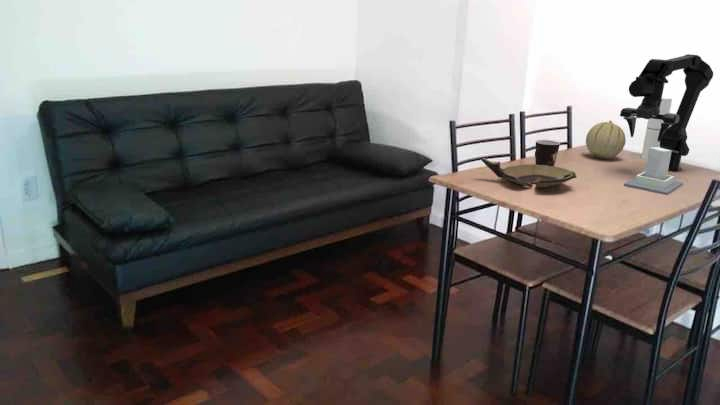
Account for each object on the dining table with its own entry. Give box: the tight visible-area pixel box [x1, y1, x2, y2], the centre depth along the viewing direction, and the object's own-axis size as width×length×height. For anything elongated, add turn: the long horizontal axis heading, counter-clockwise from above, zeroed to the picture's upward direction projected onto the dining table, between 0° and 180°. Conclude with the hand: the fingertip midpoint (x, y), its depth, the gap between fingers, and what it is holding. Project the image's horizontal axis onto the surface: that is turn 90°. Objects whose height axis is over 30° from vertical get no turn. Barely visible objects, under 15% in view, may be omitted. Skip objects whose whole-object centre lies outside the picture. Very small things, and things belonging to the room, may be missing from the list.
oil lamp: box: [480, 157, 577, 189], centre depth 205 cm, size 22×30×8 cm
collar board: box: [623, 170, 684, 196], centre depth 209 cm, size 18×14×3 cm
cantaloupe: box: [585, 120, 627, 159], centre depth 244 cm, size 15×15×15 cm
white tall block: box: [640, 95, 673, 161], centre depth 245 cm, size 7×7×25 cm
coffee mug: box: [534, 139, 561, 166], centre depth 224 cm, size 12×9×10 cm
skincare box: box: [644, 147, 672, 180], centre depth 208 cm, size 6×4×12 cm
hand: (645, 139), depth 220 cm, fingers open, 9 cm apart
